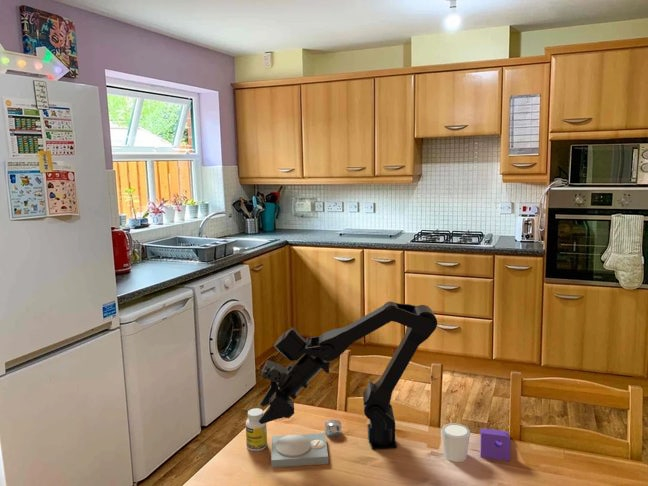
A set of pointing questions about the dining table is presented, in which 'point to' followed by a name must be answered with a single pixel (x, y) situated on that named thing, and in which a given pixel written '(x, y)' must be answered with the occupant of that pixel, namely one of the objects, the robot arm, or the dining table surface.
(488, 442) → the purple box with knob
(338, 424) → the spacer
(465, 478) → the dining table surface
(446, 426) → the white short tapered cylinder
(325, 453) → the scale
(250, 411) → the supplement bottle
